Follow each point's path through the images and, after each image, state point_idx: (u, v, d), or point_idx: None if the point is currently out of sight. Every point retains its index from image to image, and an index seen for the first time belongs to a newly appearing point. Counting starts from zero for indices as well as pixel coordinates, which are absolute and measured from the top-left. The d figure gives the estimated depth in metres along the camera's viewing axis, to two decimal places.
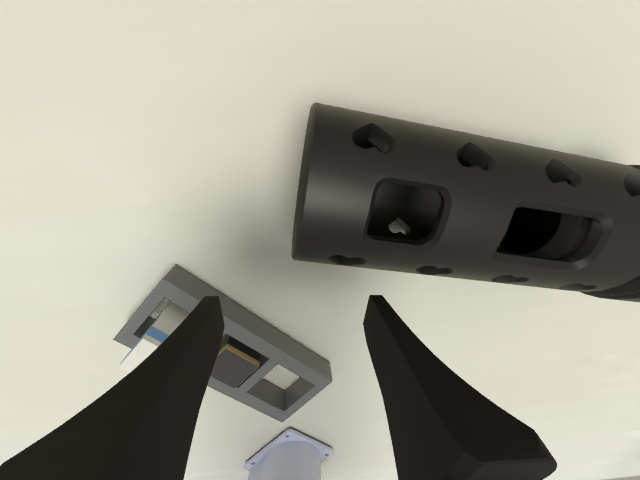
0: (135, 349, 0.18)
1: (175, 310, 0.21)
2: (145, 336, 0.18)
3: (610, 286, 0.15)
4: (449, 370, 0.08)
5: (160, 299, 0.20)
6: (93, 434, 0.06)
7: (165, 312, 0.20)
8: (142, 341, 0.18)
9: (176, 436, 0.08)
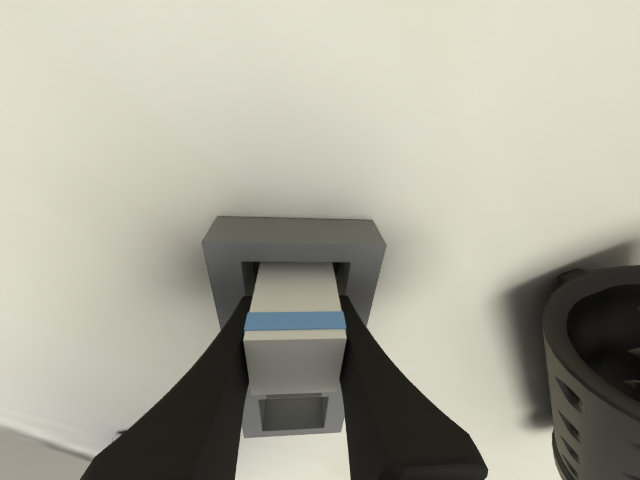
0: (313, 341, 0.09)
1: None
2: (344, 333, 0.09)
3: None
4: (398, 372, 0.08)
5: (343, 260, 0.11)
6: (171, 429, 0.06)
7: None
8: (339, 340, 0.09)
9: (231, 433, 0.08)
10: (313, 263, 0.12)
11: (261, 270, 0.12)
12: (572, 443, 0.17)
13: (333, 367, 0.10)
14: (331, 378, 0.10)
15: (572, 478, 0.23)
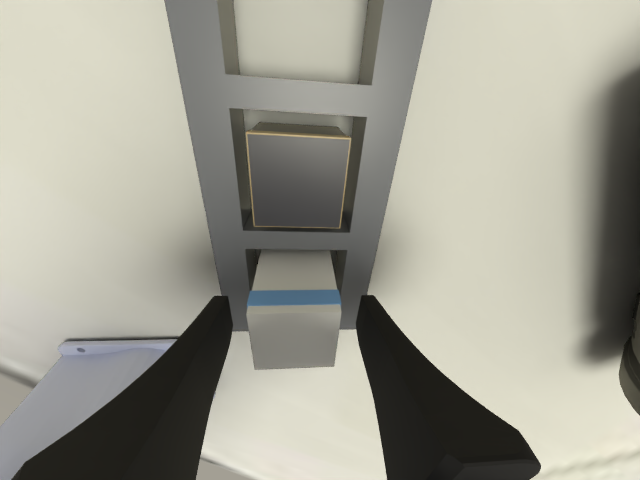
0: (310, 314, 0.10)
1: None
2: (340, 308, 0.10)
3: None
4: (437, 370, 0.08)
5: None
6: (112, 433, 0.06)
7: None
8: (334, 314, 0.10)
9: (189, 435, 0.08)
10: None
11: (262, 255, 0.13)
12: None
13: (330, 341, 0.10)
14: (328, 353, 0.11)
15: None
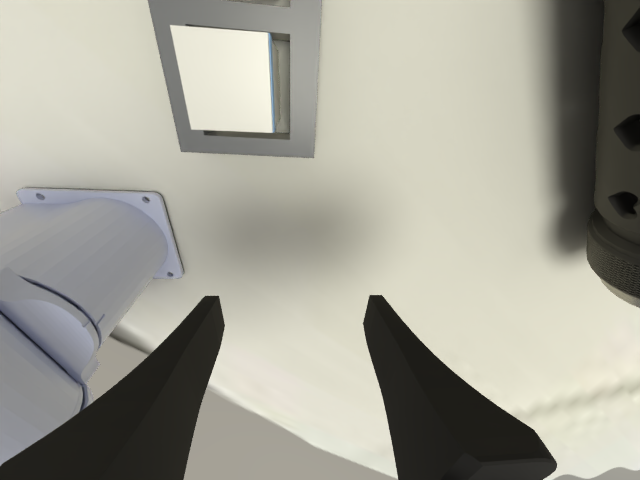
0: (236, 33, 0.10)
1: (275, 62, 0.13)
2: (267, 35, 0.10)
3: None
4: (449, 370, 0.08)
5: None
6: (93, 434, 0.06)
7: (274, 47, 0.12)
8: (261, 35, 0.10)
9: (176, 436, 0.08)
10: None
11: None
12: None
13: (262, 86, 0.10)
14: (263, 107, 0.11)
15: (620, 245, 0.17)
